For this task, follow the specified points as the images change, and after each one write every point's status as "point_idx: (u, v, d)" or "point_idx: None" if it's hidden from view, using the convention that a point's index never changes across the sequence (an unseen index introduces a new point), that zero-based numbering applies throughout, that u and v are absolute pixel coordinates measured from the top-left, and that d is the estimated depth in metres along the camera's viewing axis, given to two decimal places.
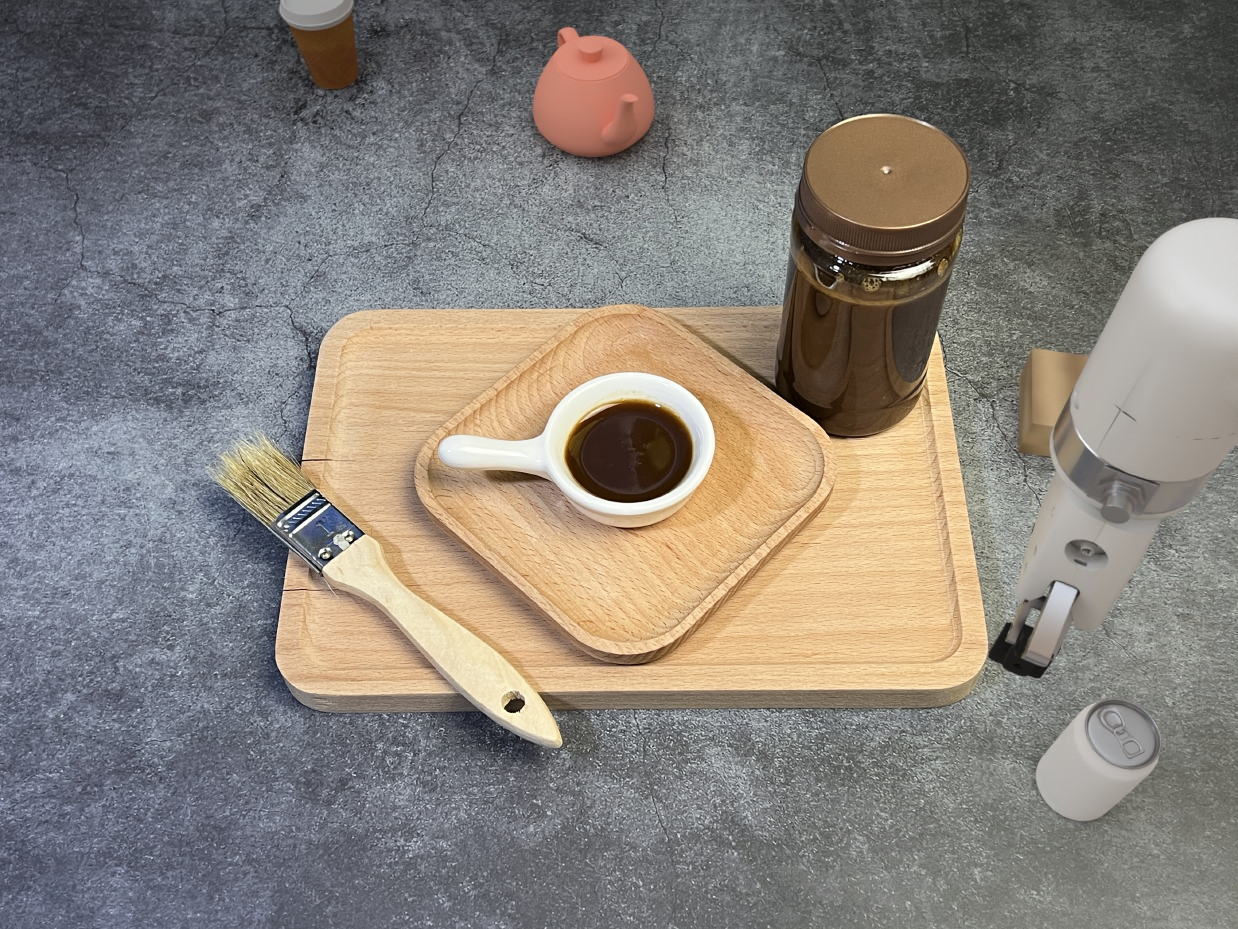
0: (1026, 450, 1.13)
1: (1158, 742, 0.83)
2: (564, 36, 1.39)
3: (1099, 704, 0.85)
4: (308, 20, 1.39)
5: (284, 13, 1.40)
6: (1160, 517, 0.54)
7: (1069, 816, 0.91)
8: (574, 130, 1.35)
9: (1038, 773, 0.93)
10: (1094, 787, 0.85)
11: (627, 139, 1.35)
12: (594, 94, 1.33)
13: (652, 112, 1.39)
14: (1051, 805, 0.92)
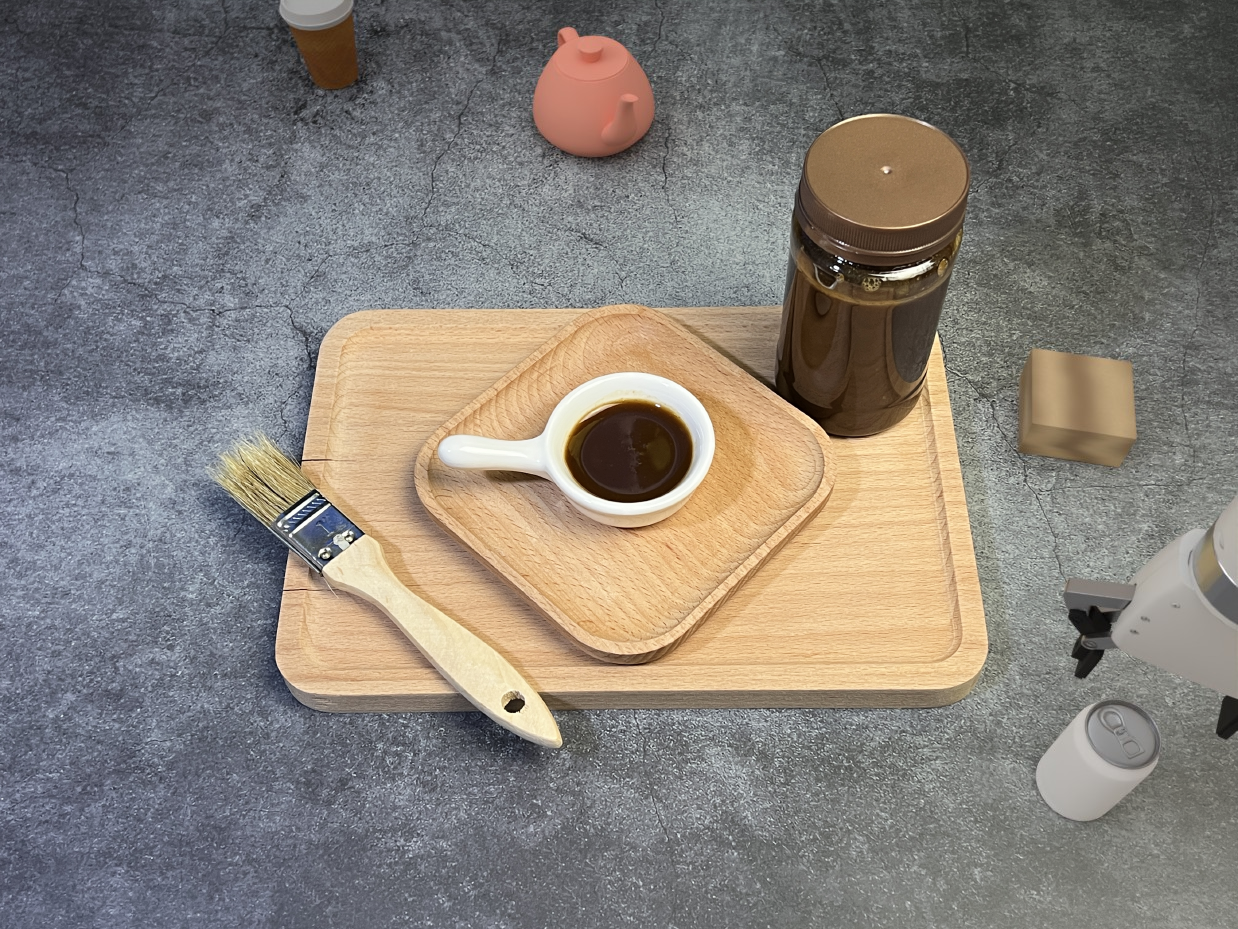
0: (1026, 450, 1.13)
1: (1158, 742, 0.83)
2: (564, 36, 1.39)
3: (1099, 704, 0.85)
4: (308, 20, 1.39)
5: (284, 13, 1.40)
6: None
7: (1069, 816, 0.91)
8: (574, 130, 1.35)
9: (1038, 773, 0.93)
10: (1094, 787, 0.85)
11: (627, 139, 1.35)
12: (594, 94, 1.33)
13: (652, 112, 1.39)
14: (1051, 805, 0.92)
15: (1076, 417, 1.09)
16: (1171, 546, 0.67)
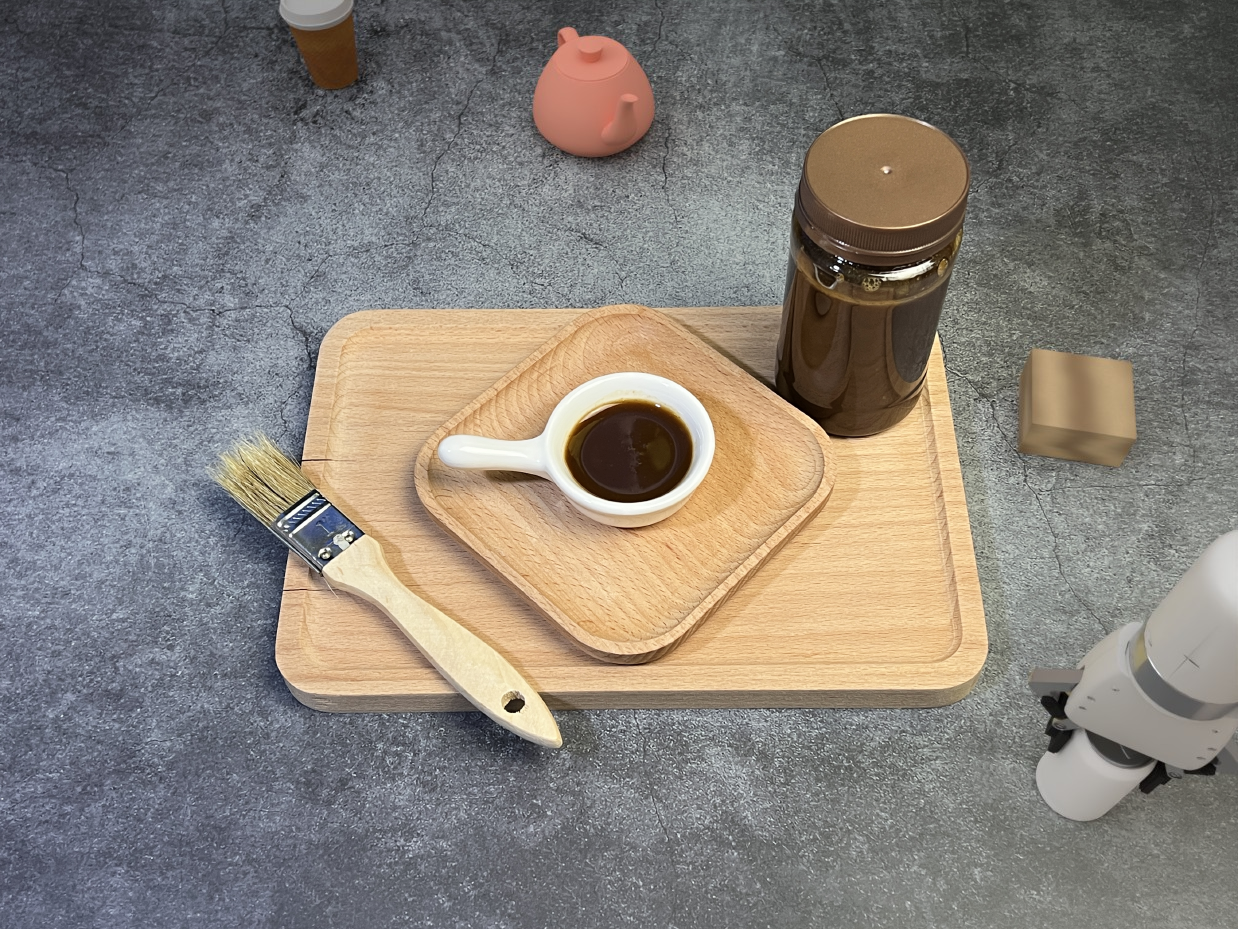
0: (1026, 450, 1.13)
1: None
2: (564, 36, 1.39)
3: None
4: (308, 20, 1.39)
5: (284, 13, 1.40)
6: None
7: (1069, 816, 0.91)
8: (574, 130, 1.35)
9: (1038, 773, 0.93)
10: (1094, 787, 0.85)
11: (627, 139, 1.35)
12: (594, 94, 1.33)
13: (652, 112, 1.39)
14: (1051, 805, 0.92)
15: (1076, 417, 1.09)
16: (1112, 636, 0.77)
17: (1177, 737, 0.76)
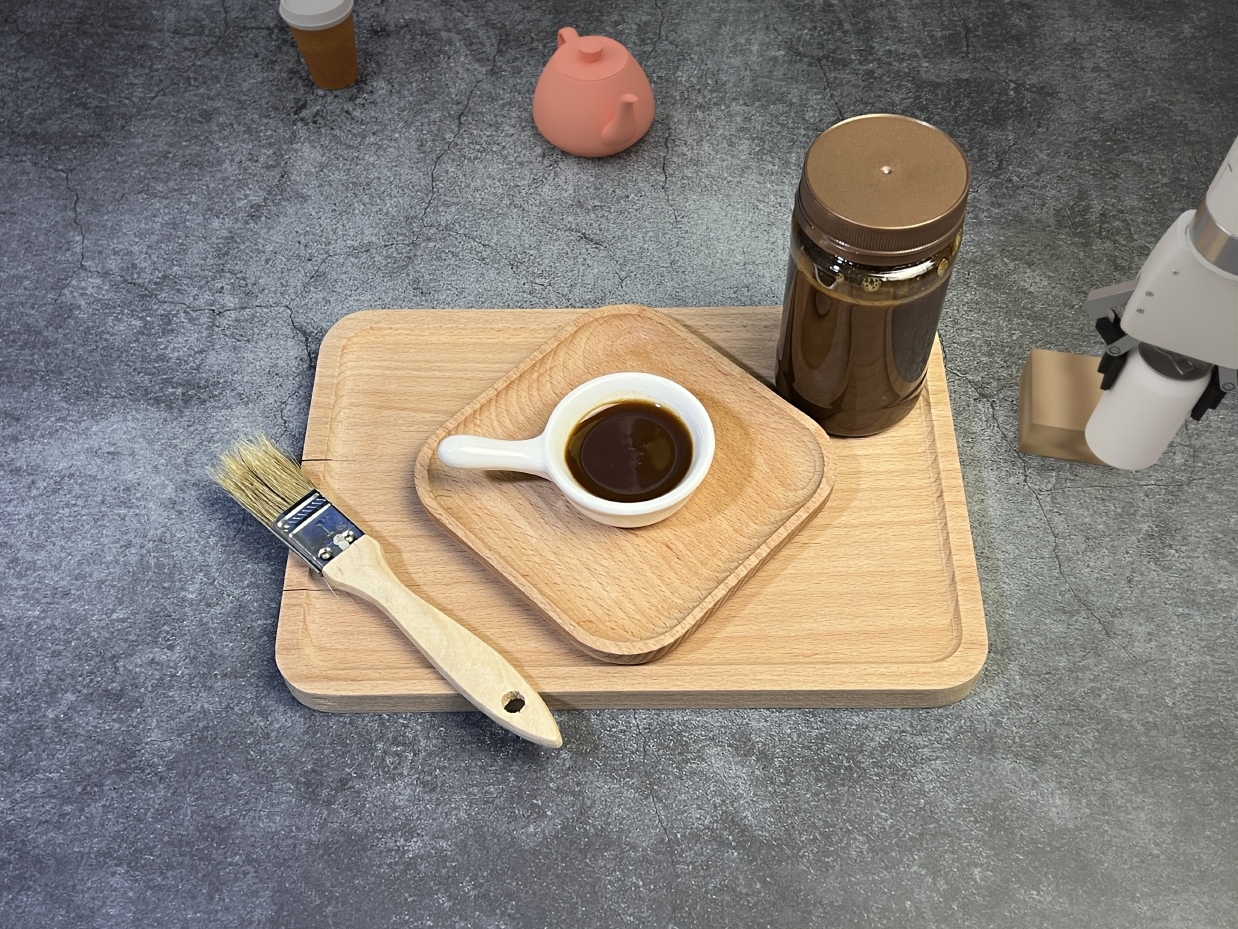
0: (1026, 450, 1.13)
1: None
2: (564, 36, 1.39)
3: None
4: (308, 20, 1.39)
5: (284, 13, 1.40)
6: None
7: (1119, 464, 0.93)
8: (574, 130, 1.35)
9: (1088, 429, 0.95)
10: (1147, 414, 0.87)
11: (627, 139, 1.35)
12: (594, 94, 1.33)
13: (652, 112, 1.39)
14: (1101, 456, 0.94)
15: (1076, 417, 1.09)
16: (1170, 226, 0.79)
17: (1235, 320, 0.78)
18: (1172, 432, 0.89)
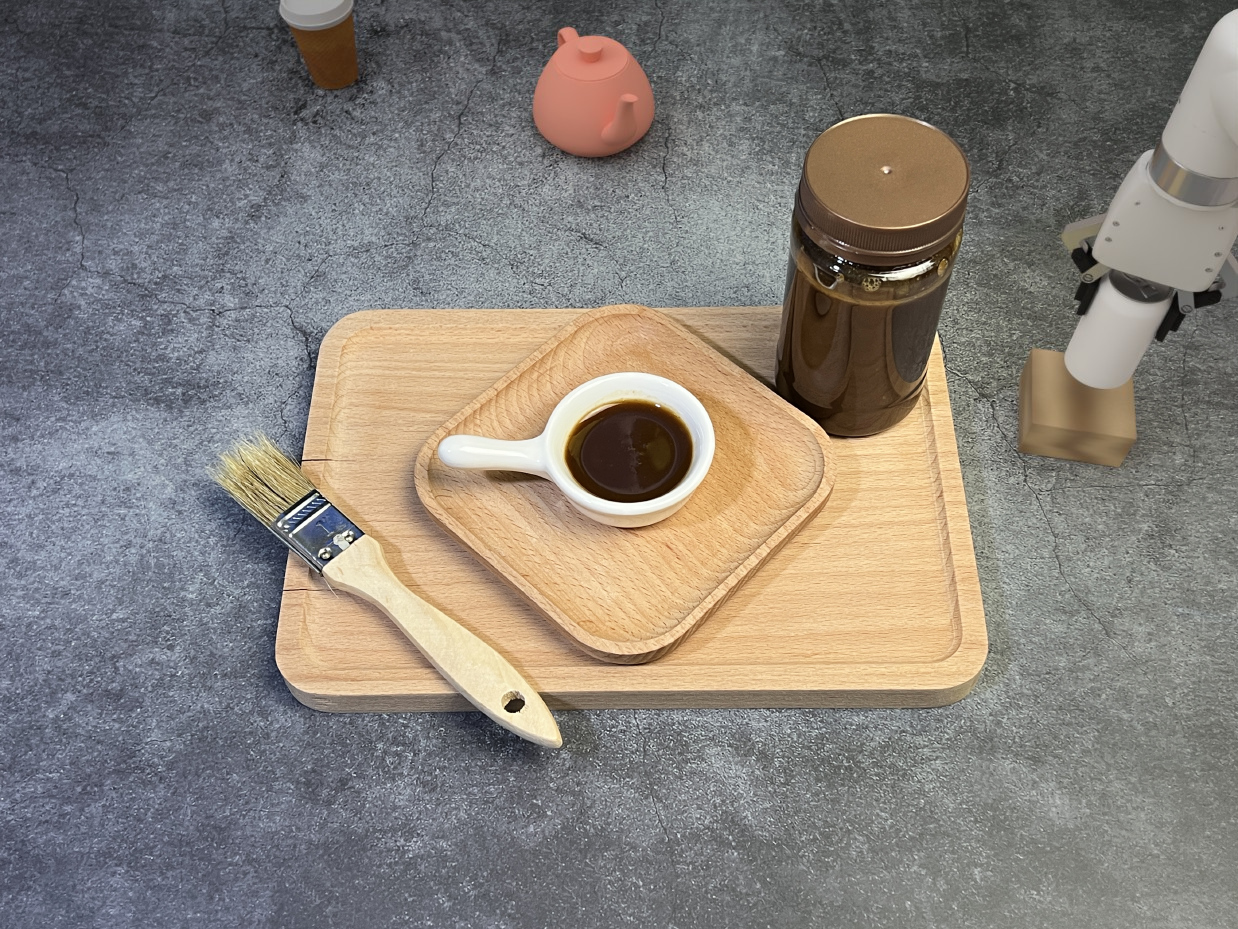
0: (1026, 450, 1.13)
1: None
2: (564, 36, 1.39)
3: None
4: (308, 20, 1.39)
5: (284, 13, 1.40)
6: None
7: (1094, 383, 1.05)
8: (574, 130, 1.35)
9: (1066, 353, 1.07)
10: (1116, 334, 0.99)
11: (627, 139, 1.35)
12: (594, 94, 1.33)
13: (652, 112, 1.39)
14: (1078, 376, 1.06)
15: (1076, 417, 1.09)
16: (1134, 164, 0.91)
17: (1189, 246, 0.90)
18: (1139, 352, 1.02)
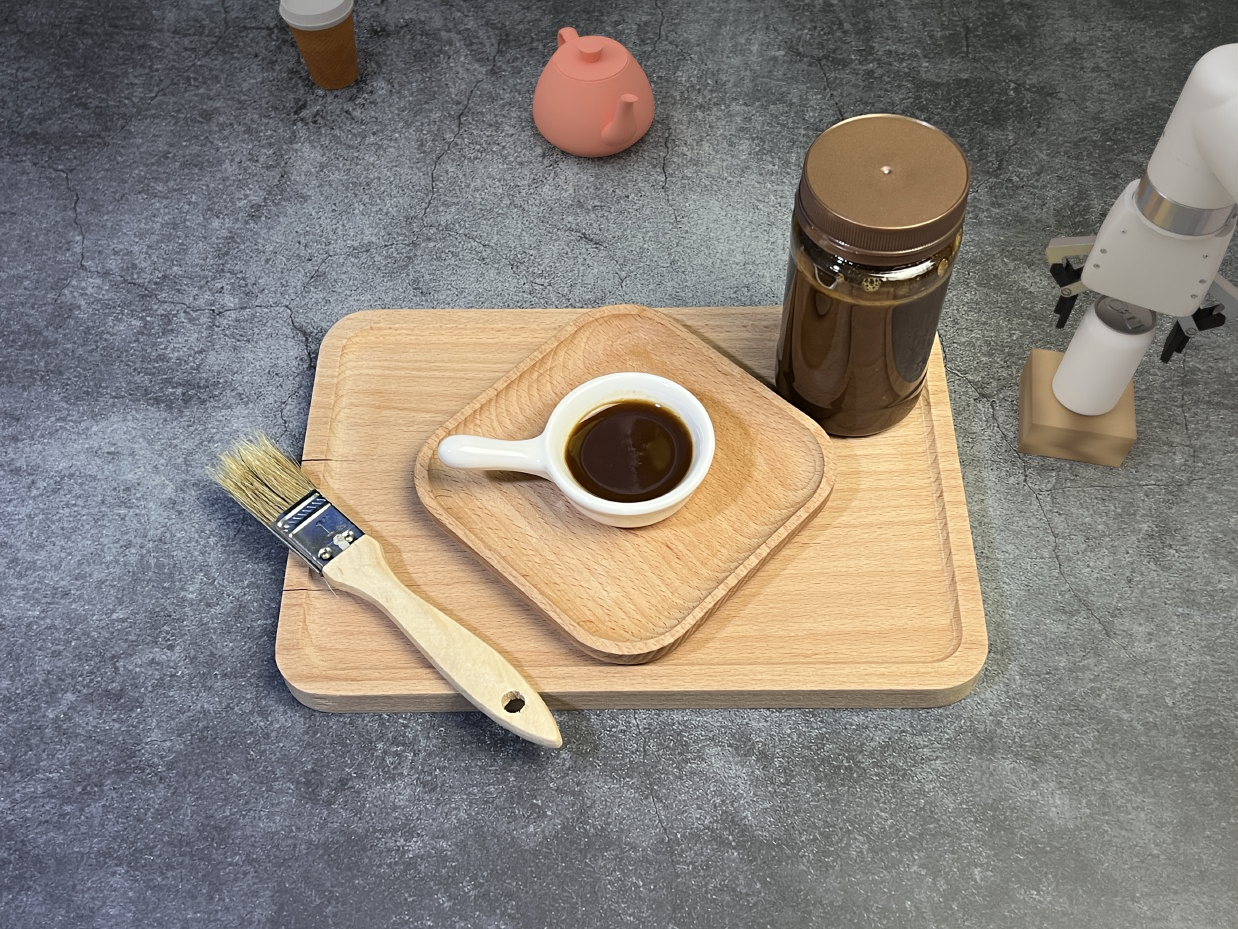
0: (1026, 450, 1.13)
1: (1155, 318, 1.01)
2: (564, 36, 1.39)
3: None
4: (308, 20, 1.39)
5: (284, 13, 1.40)
6: None
7: (1080, 410, 1.09)
8: (574, 130, 1.35)
9: (1054, 380, 1.10)
10: (1102, 363, 1.03)
11: (627, 139, 1.35)
12: (594, 94, 1.33)
13: (652, 112, 1.39)
14: (1065, 403, 1.09)
15: (1076, 417, 1.09)
16: (1121, 193, 0.94)
17: (1174, 273, 0.93)
18: (1124, 381, 1.05)
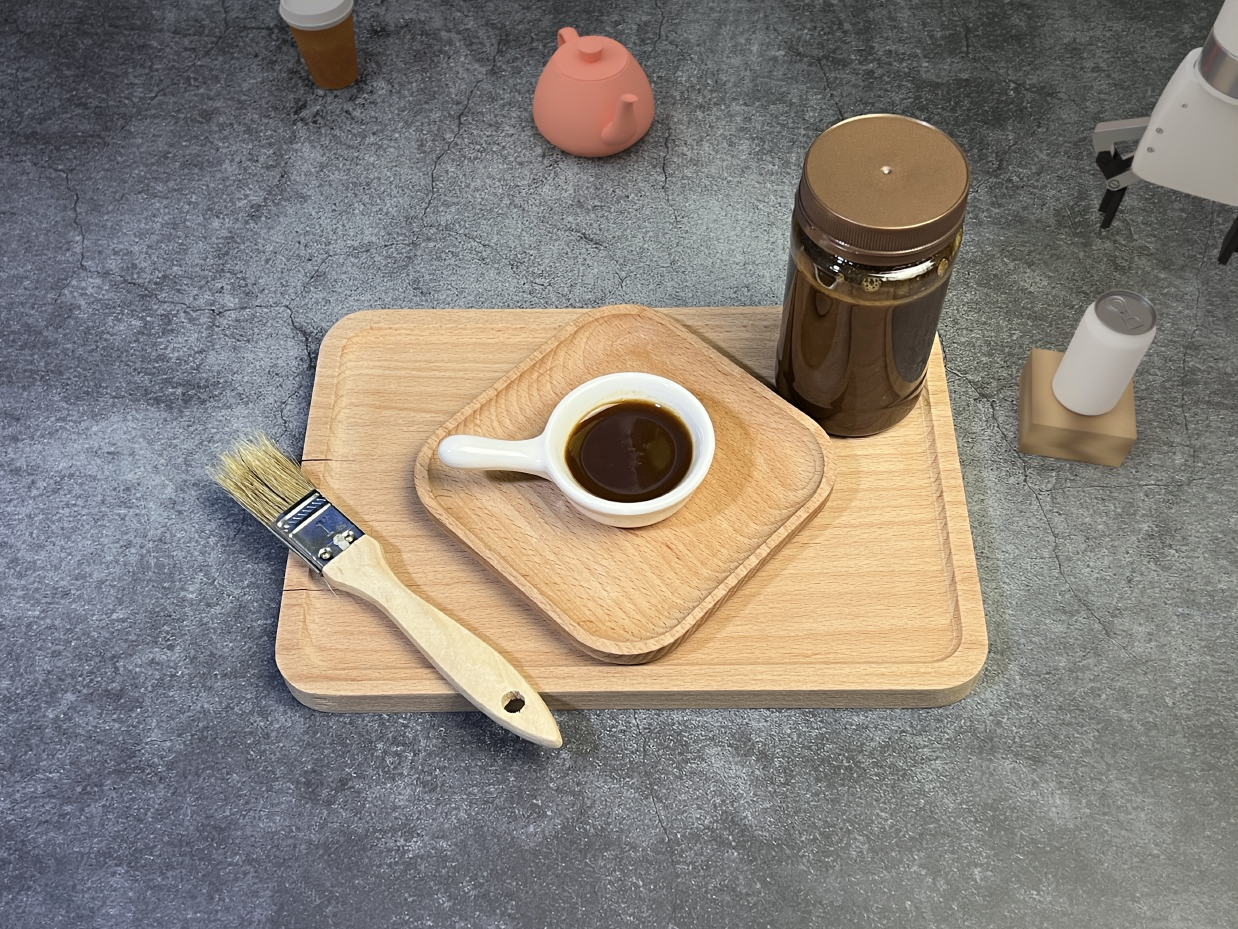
0: (1026, 450, 1.13)
1: (1155, 318, 1.01)
2: (564, 36, 1.39)
3: (1106, 294, 1.03)
4: (308, 20, 1.39)
5: (284, 13, 1.40)
6: None
7: (1080, 410, 1.09)
8: (574, 130, 1.35)
9: (1054, 380, 1.10)
10: (1102, 363, 1.03)
11: (627, 139, 1.35)
12: (594, 94, 1.33)
13: (652, 112, 1.39)
14: (1065, 403, 1.09)
15: (1076, 417, 1.09)
16: (1180, 64, 0.83)
17: None
18: (1124, 381, 1.05)
